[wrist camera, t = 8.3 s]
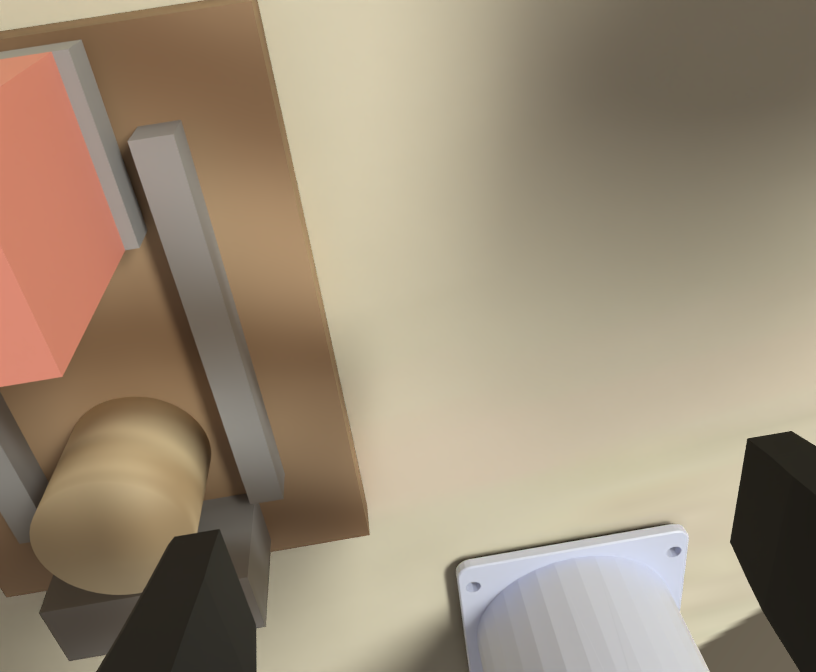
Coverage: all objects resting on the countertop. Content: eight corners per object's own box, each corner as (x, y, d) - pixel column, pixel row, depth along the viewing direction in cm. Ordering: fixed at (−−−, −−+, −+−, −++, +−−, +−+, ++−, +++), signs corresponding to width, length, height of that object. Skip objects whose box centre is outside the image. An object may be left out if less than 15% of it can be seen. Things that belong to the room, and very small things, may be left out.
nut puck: (226, 490, 21) (211, 581, 18) (97, 511, 20) (63, 605, 18) (190, 386, 19) (169, 470, 16) (49, 409, 19) (2, 497, 16)
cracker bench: (367, 506, 23) (377, 619, 20) (20, 565, 23) (-34, 691, 19) (255, -8, 15) (238, 28, 12) (-283, 74, 15) (-469, 137, 11)
